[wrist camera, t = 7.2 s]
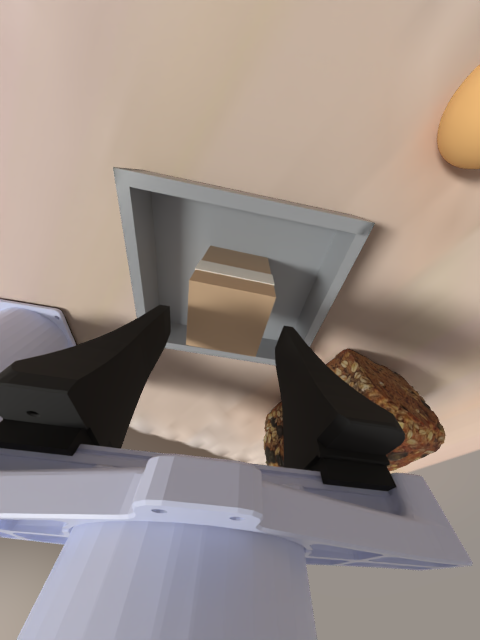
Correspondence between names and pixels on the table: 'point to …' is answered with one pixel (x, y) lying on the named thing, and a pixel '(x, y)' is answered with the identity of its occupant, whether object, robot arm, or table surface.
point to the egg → (462, 125)
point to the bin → (239, 235)
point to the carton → (229, 301)
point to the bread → (385, 392)
